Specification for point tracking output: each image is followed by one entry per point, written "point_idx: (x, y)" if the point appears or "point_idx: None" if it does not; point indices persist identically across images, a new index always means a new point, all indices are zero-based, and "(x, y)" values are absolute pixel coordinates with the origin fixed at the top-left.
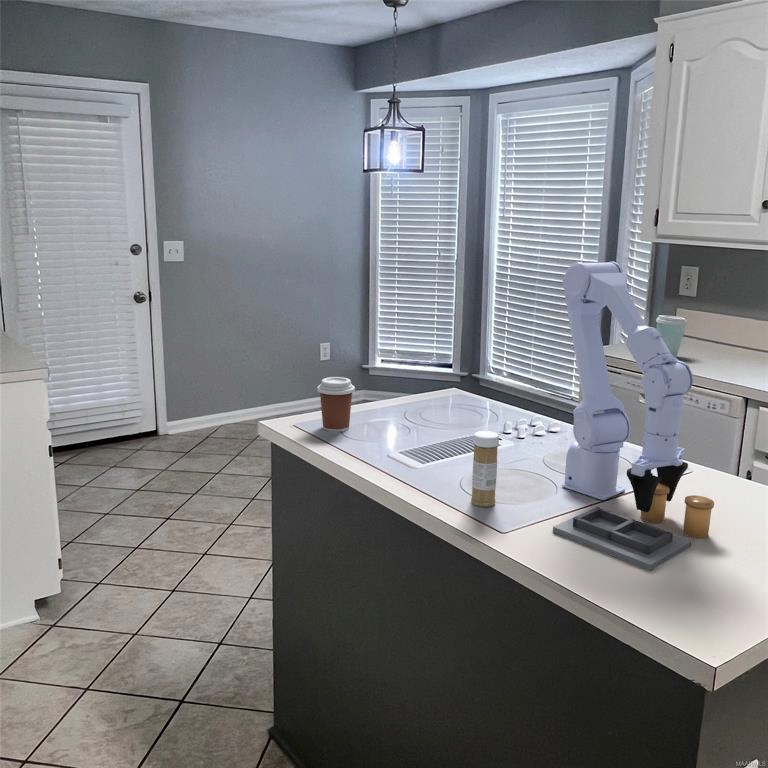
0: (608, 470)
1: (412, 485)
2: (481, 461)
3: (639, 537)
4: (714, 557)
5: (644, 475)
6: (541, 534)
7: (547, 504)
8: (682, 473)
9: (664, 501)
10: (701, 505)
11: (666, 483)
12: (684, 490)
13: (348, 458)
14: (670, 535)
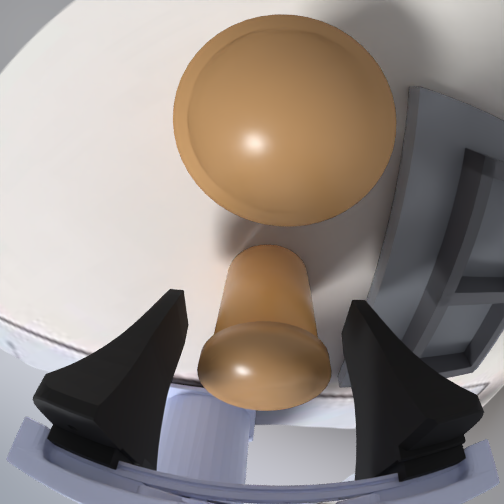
0: (217, 456)
1: None
2: None
3: (481, 238)
4: (424, 9)
5: (461, 447)
6: (482, 362)
7: (353, 421)
8: (88, 367)
9: (273, 299)
10: (379, 76)
11: (161, 362)
12: (27, 290)
13: None
14: (492, 158)
